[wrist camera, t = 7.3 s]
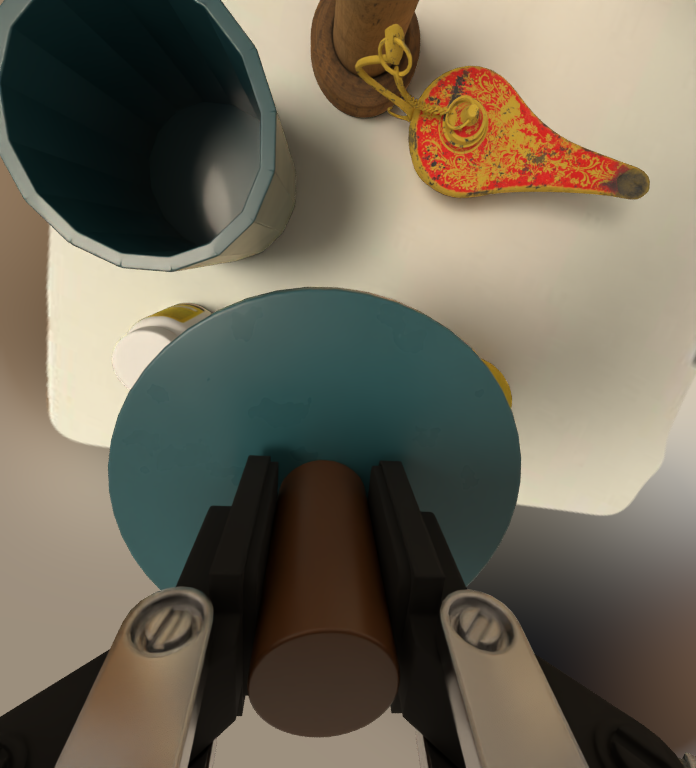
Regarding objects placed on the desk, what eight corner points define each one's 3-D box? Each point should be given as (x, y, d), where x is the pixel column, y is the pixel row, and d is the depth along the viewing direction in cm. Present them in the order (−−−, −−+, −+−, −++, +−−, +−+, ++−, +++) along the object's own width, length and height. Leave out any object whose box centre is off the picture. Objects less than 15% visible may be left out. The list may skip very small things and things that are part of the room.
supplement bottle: (146, 332, 30) (85, 363, 22) (187, 288, 30) (138, 304, 22) (195, 375, 32) (154, 418, 24) (236, 335, 31) (207, 365, 23)
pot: (137, 85, 25) (-48, -80, 13) (299, 104, 26) (279, -31, 13) (149, 253, 29) (12, 259, 16) (293, 265, 29) (272, 280, 17)
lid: (108, 266, 10) (-209, 293, 4) (541, 301, 11) (805, 364, 5) (143, 614, 13) (5, 903, 7) (467, 616, 14) (570, 869, 8)
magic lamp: (557, 249, 30) (681, 250, 20) (331, 164, 27) (338, 114, 17) (601, 152, 28) (764, 98, 18) (363, 50, 25) (392, -86, 15)
